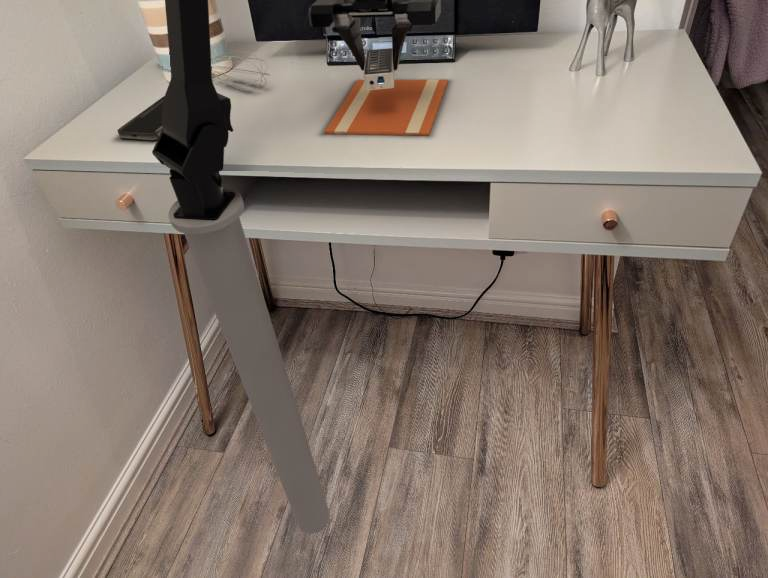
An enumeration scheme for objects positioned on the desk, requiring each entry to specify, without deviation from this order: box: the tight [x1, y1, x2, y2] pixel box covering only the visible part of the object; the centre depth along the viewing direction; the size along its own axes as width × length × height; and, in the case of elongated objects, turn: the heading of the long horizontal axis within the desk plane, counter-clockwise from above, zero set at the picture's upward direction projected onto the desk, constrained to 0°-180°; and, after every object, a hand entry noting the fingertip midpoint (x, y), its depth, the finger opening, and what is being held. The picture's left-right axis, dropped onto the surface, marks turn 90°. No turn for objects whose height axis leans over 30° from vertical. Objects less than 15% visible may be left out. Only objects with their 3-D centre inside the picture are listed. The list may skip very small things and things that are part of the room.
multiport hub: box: [362, 47, 395, 90], centre depth 89 cm, size 4×11×2 cm, turn 179°
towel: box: [324, 78, 449, 136], centre depth 93 cm, size 20×16×1 cm
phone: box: [117, 95, 165, 142], centre depth 97 cm, size 8×1×15 cm
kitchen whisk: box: [211, 51, 271, 92], centre depth 109 cm, size 6×34×6 cm, turn 50°
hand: (379, 69), depth 89 cm, fingers closed on multiport hub, 5 cm apart
